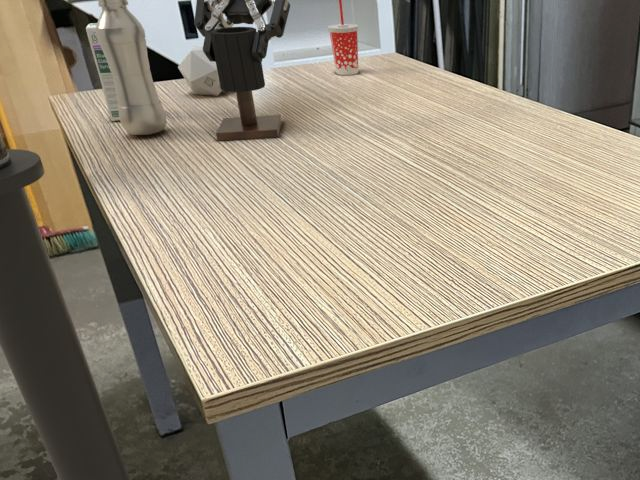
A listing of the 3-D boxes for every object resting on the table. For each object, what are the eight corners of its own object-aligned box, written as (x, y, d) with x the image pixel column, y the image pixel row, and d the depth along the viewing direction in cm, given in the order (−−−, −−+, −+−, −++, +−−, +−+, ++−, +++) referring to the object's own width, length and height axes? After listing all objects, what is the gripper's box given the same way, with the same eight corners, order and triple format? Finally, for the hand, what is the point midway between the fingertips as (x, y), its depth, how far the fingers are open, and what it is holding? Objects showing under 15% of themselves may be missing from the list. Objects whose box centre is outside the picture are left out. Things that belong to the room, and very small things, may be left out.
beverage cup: (366, 73, 147) (360, -2, 139) (339, 77, 144) (331, 1, 137) (355, 68, 151) (348, -4, 144) (328, 71, 149) (320, -2, 141)
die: (195, 105, 129) (221, 56, 125) (161, 75, 130) (186, 27, 127) (225, 111, 137) (249, 66, 133) (192, 83, 138) (216, 38, 134)
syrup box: (110, 122, 117) (83, 26, 109) (116, 113, 122) (91, 21, 114) (147, 119, 118) (123, 24, 110) (151, 111, 123) (129, 19, 115)
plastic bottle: (177, 132, 111) (144, -10, 100) (136, 142, 107) (96, -5, 96) (157, 125, 114) (123, -13, 104) (116, 134, 110) (76, -8, 99)
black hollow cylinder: (218, 93, 104) (207, 34, 100) (224, 83, 110) (213, 27, 105) (263, 90, 105) (253, 32, 101) (266, 81, 110) (257, 25, 106)
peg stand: (217, 141, 107) (206, 84, 102) (224, 125, 114) (214, 71, 110) (278, 137, 108) (269, 81, 103) (281, 122, 115) (273, 69, 111)
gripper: (194, -58, 104) (174, 42, 101) (287, -59, 102) (269, 43, 99) (217, -21, 112) (199, 73, 108) (304, -21, 110) (289, 74, 106)
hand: (233, 58), depth 104 cm, fingers closed on black hollow cylinder, 6 cm apart
